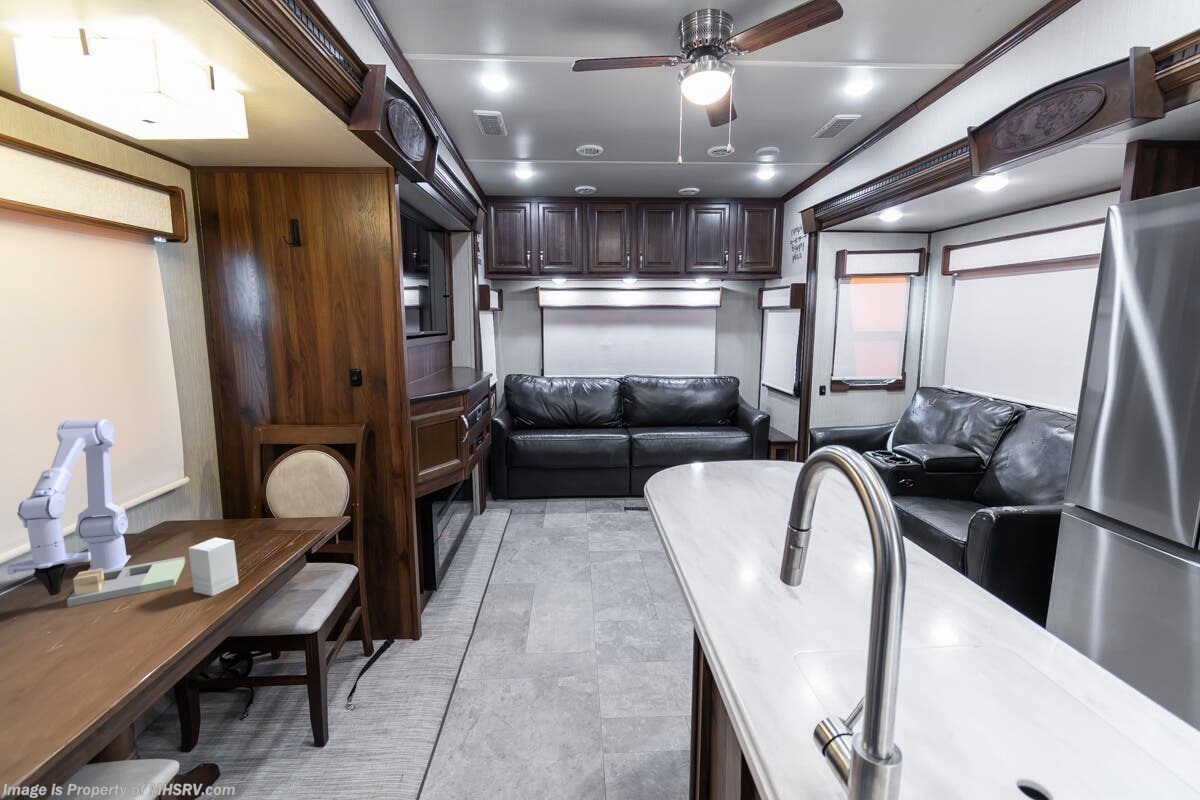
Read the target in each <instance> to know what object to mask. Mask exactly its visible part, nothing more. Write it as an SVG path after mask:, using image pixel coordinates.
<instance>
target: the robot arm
mask: <svg viewBox="0 0 1200 800" xmlns="http://www.w3.org/2000/svg"><path fill="white" fill-rule="evenodd" d="M56 436H57V437H56V438H57V441H58V442H59V445H58V448H57V450H56V453H55V455H54V459H53V461H52V465H51V467H50V469H46V470H44V471H42V472H41V474H40V477H39V478H38V480H37V482H36V484H35V486H34V488H33V490H32V492H31V494H30V496H29V497H26V498H25V499H23V500H22V501H21V502H20V503H19V505H18V507H17V512H16V515H17V517H18V518H19V520H20V521H21V522H22V524H23V527H24V528H25V529H27V533H28V534H27V535H28V539H29V546H30V551H31V558H32V559H30V560H26V561H21V562H17V563H12V564H9V565H8V566H7V567H6V570H7V575H8V576H9V575H15V574H16V573H23V572H28V571H34V572H33V577H34V578H35V579H36V580H38V581H39V582H40V583H41V584H42V585H43V586H44V587H45V589H46V590H47V592H48V594H49V596H50V597H51V596H57V595H59V594H60V593H61V591H62V590H61V589H62V583H63V579H64V577H65V573H66V571H67V569H68V567H69V565H70V564H71V565H72V564H77V563H80V562H81V563H82V562H83V563H87V562H89V565H90V567H89V568H88V570H87V571H89V570H95V569H100V568H103V571H105V570H111V569H116V568H122V567H126V566H125V565H126V564H127V563H128V561H129V560H130V559H131V557H132V556H131V555H130V554H128V555H127V549H126V543H125V537H124V536H123V535H124V534H125V533H126V532H127V530H128V527H129V520H128V517H127V515H126V514H127V513H126V509H125V508H124V507H122V506H119V505H117V504H116V503H114V502H113V484H112V481H113V479H112V466H111V465H112V462H111V448H112V447H113V446H115V426H114V425H113V424H112V423H111V422H110V421H109V420H108V419H106V418H102V419H85V420H84V419H83V420H82V419H81V420H63V421H62V422H60V423H59V425H58V427H57V432H56ZM82 452H84V453H85V462H86V463H85V466H86V470H85V471H86V487H87V489H86V490H87V491H86V492H87V507H86V508H85V509H84V510H82V511H81V512H80V513H78V514H77V521H76V525H75V533H76V536H77V538H79V539H80V540H83V543H86V545H87V551H84V552H71V553H67V552H66V551H67V550H66V544H65V539H64V534H63V525H62V520H61V519H62V518H61V516H62V515H63V514H64V512H65V510H66V500H67V495H66V493H67V492H68V491H67V490H68V488H69V486H70V484H71V482H72V480H73V475H72V473H71V472H70V471H71V469H72V468H73V467H74V465H75V463H76V461H77V460H78V458H79V457H80V454H81V453H82Z"/></svg>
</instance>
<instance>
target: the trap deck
mask: <svg viewBox="0 0 1200 800" xmlns="http://www.w3.org/2000/svg"><path fill="white" fill-rule="evenodd" d="M185 564H186V556H180V557H174V558H168V559H163V560H158V561H157V560H156V561H151V562H146V563H140V564H135V565H128V566H124V567H122V568H116V569H111V570H105V571H103V574H104V581H105V585H104V586H103V587H102V589H101V590H100V591H99V592H94V593H89V594H84V595H78V596H75V589H74V590H73V592H72V593H71V594H70V595H69V597H67V599H66V603H67V607H68V608H70V607H74V606H76V607H77V606H80V605H81V606H82V605H85V604H86V605H87V604H91V603H95V602H96V603H97V602H100V601H105V600H111V599H115V598H121V597H126V596H131V595H135V594H141V593H145V592H150V591H155V590H161V589H166V588H171V587H175V586H176V583H177V582H178V580H179V578H180V576H181V573H182V571H183V569H184V567H185Z"/></svg>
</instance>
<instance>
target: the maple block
mask: <svg viewBox="0 0 1200 800" xmlns="http://www.w3.org/2000/svg"><path fill="white" fill-rule="evenodd" d="M88 570H89V569H88ZM88 570H83V571H79V572H78V573H77V575H75V576H74V578H73V579H72V581H73V589H74V590H75V596H78V595H84V594H89V593H94V592H99V591H100V590H101V589H102V587H103V586H104V585H105V581H104V574H103V568H100V569H95V570H89V571H88Z"/></svg>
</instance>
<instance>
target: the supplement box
mask: <svg viewBox="0 0 1200 800" xmlns="http://www.w3.org/2000/svg"><path fill="white" fill-rule="evenodd" d="M188 555H189V564H190V570H191V571H190V572H191V578H192V586H193V593H197V594H202V595H205V596H210V597H214V596H216V595H218V594H220V593H223V592H224V591H226V590H228V589H231V588H233V587H235V586H237V585H239V574H238V565H237V556H236V548H235V540H233V539H226V538H220V537H213V538H210V539H207V540H204V541H203V542H200V543H198V544H194V545H193V546H189V547H188Z"/></svg>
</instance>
